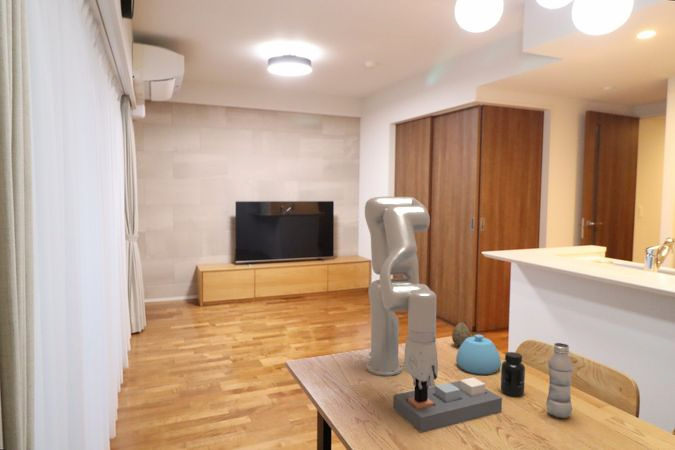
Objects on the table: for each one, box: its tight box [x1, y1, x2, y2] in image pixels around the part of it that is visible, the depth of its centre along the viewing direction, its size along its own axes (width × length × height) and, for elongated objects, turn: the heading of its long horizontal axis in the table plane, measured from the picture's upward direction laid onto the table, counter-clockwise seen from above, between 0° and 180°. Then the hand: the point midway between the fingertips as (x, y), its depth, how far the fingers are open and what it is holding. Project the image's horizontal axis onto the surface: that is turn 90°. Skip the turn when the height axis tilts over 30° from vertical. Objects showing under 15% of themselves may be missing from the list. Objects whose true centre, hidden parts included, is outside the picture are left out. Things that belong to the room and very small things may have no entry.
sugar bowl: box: [455, 333, 502, 375], centre depth 160 cm, size 15×15×12 cm
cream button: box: [459, 377, 486, 397], centre depth 132 cm, size 5×5×4 cm
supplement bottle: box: [500, 351, 526, 398], centre depth 140 cm, size 7×7×12 cm
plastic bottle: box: [545, 342, 574, 419], centre depth 125 cm, size 6×7×20 cm
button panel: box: [392, 380, 503, 433], centre depth 129 cm, size 14×27×4 cm, turn 114°
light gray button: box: [435, 382, 460, 403], centre depth 129 cm, size 5×5×4 cm
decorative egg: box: [451, 321, 472, 348], centre depth 180 cm, size 7×7×10 cm
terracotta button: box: [408, 397, 434, 409], centre depth 125 cm, size 5×5×4 cm
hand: (420, 400), depth 125 cm, fingers closed
